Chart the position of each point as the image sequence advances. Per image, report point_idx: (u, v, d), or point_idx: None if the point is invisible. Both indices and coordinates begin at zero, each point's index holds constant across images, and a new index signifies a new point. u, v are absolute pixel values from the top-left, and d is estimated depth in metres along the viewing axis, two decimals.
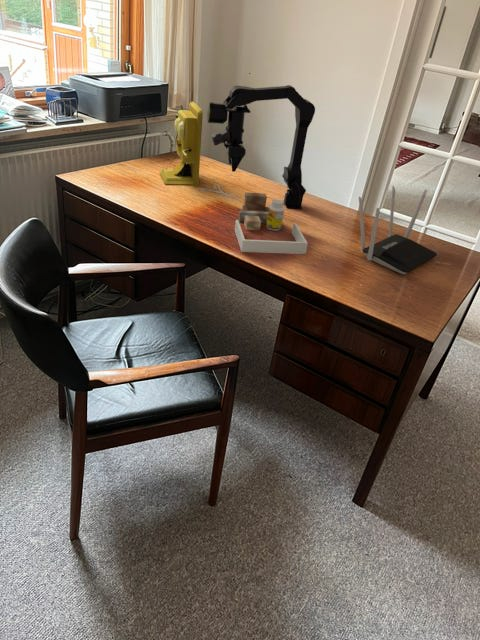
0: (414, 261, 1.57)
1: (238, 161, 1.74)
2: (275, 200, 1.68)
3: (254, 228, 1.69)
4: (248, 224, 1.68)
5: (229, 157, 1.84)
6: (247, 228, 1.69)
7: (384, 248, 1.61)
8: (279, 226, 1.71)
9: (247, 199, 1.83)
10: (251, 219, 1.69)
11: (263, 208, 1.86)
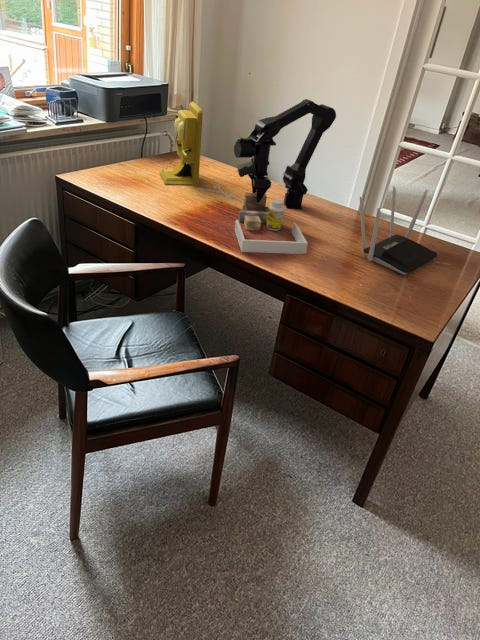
0: (415, 261, 1.57)
1: (263, 192, 1.78)
2: (275, 200, 1.68)
3: (254, 228, 1.69)
4: (248, 224, 1.68)
5: (253, 187, 1.87)
6: (247, 228, 1.69)
7: (385, 248, 1.61)
8: (279, 226, 1.71)
9: (247, 199, 1.83)
10: (251, 219, 1.69)
11: (263, 208, 1.86)
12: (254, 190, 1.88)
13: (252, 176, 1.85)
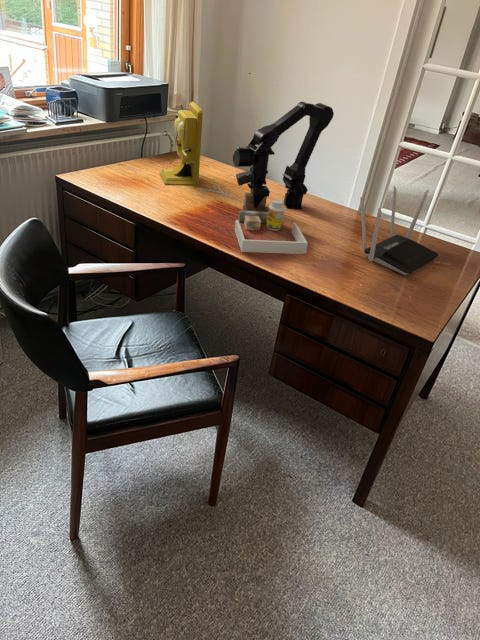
0: (416, 262, 1.56)
1: (260, 198, 1.82)
2: (275, 200, 1.68)
3: (254, 228, 1.69)
4: (248, 224, 1.68)
5: None
6: (247, 228, 1.69)
7: (385, 249, 1.61)
8: (279, 226, 1.71)
9: (247, 199, 1.83)
10: (251, 219, 1.69)
11: (263, 208, 1.86)
12: None
13: (252, 187, 1.85)
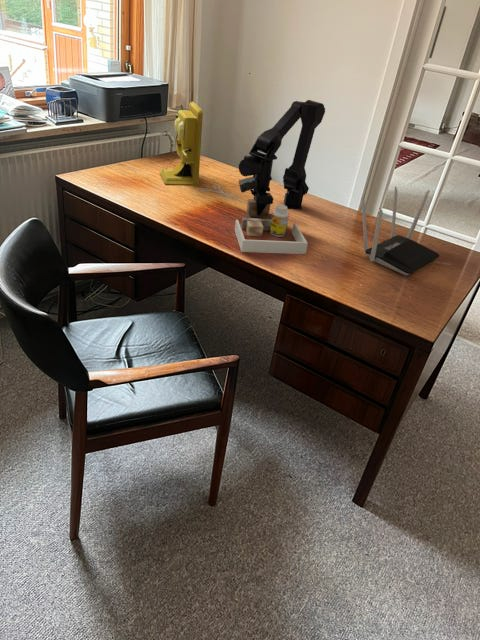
0: (417, 262, 1.56)
1: (264, 206, 1.76)
2: (279, 206, 1.64)
3: (256, 234, 1.65)
4: (250, 229, 1.64)
5: None
6: (249, 234, 1.65)
7: (387, 249, 1.61)
8: (283, 232, 1.67)
9: (250, 206, 1.77)
10: (253, 225, 1.65)
11: (266, 215, 1.80)
12: None
13: (255, 193, 1.79)
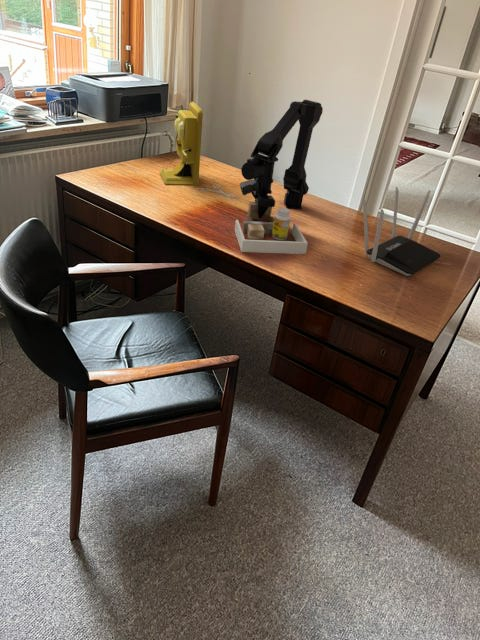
0: (418, 263, 1.56)
1: (265, 208, 1.74)
2: (281, 208, 1.62)
3: (257, 237, 1.63)
4: (251, 233, 1.62)
5: None
6: (250, 237, 1.63)
7: (388, 249, 1.61)
8: (285, 235, 1.65)
9: (251, 208, 1.75)
10: (255, 228, 1.63)
11: (268, 218, 1.78)
12: None
13: (256, 196, 1.77)
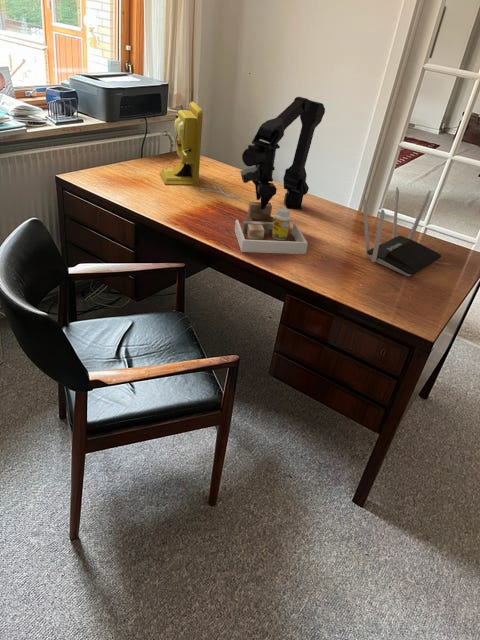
0: (419, 263, 1.56)
1: (268, 199, 1.70)
2: (281, 208, 1.62)
3: (257, 237, 1.63)
4: (251, 233, 1.62)
5: (257, 193, 1.79)
6: (250, 237, 1.63)
7: (388, 250, 1.61)
8: (285, 235, 1.64)
9: (251, 208, 1.75)
10: (255, 228, 1.63)
11: (268, 218, 1.78)
12: (258, 196, 1.79)
13: (256, 182, 1.77)
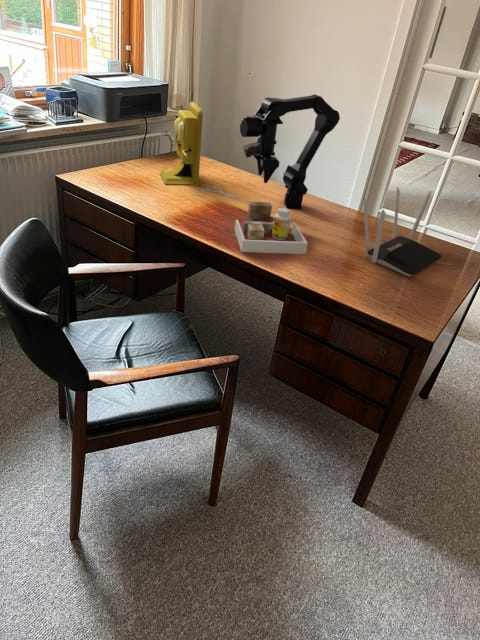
0: (419, 263, 1.56)
1: (271, 173, 1.75)
2: (281, 208, 1.62)
3: (257, 237, 1.63)
4: (251, 233, 1.62)
5: (259, 168, 1.84)
6: (250, 237, 1.63)
7: (389, 250, 1.60)
8: (285, 235, 1.64)
9: (251, 208, 1.75)
10: (255, 228, 1.63)
11: (268, 218, 1.78)
12: (260, 171, 1.84)
13: (258, 157, 1.82)
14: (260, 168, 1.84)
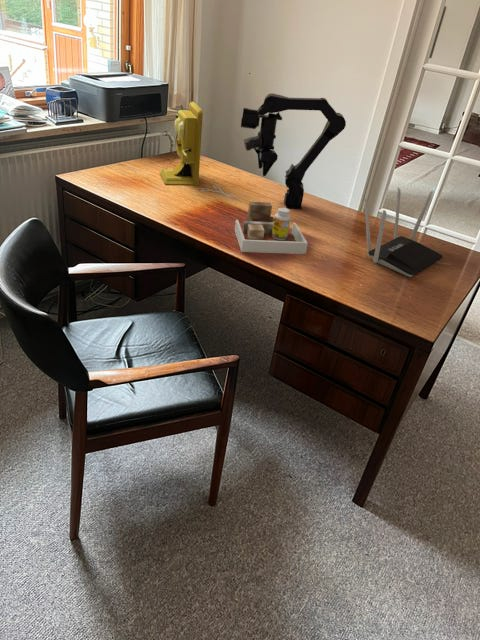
0: (421, 264, 1.56)
1: (269, 166, 1.81)
2: (281, 208, 1.62)
3: (257, 237, 1.63)
4: (251, 233, 1.62)
5: (259, 162, 1.90)
6: (250, 237, 1.63)
7: (390, 250, 1.60)
8: (285, 235, 1.64)
9: (251, 208, 1.75)
10: (255, 228, 1.63)
11: (268, 218, 1.78)
12: (260, 165, 1.91)
13: (258, 151, 1.88)
14: (260, 162, 1.90)
